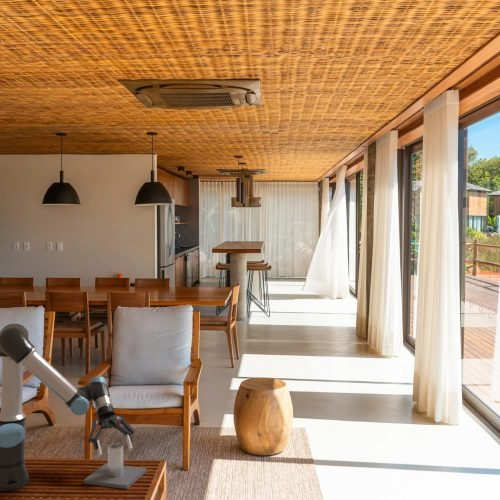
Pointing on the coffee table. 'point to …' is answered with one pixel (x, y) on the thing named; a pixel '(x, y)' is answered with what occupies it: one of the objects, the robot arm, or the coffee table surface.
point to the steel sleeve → (115, 460)
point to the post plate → (122, 481)
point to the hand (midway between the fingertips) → (116, 452)
